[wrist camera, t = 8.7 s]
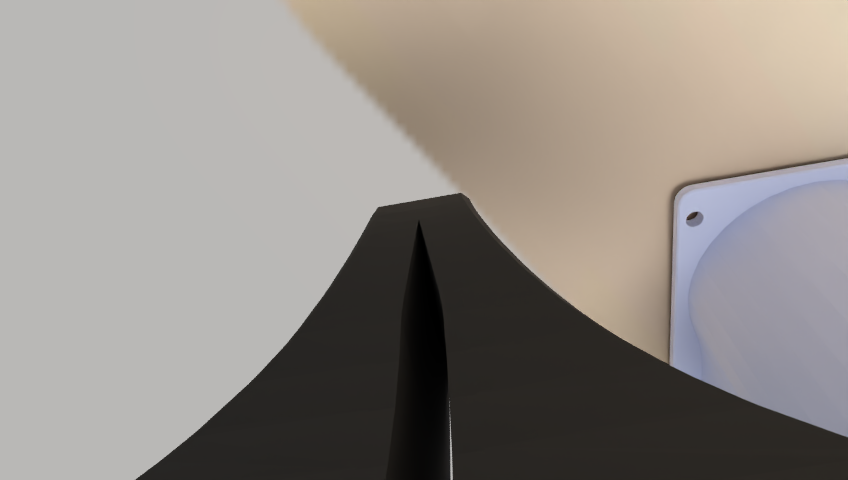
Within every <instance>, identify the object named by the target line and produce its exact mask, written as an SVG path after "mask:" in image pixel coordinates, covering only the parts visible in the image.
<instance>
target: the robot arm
mask: <svg viewBox="0 0 848 480" xmlns="http://www.w3.org/2000/svg"><path fill="white" fill-rule="evenodd" d="M693 212H698V214H697V216H696V217H695V218H694V219H691V220H686V218H687V216H688V215H689V214H690V213H693ZM449 398H450V407H449ZM450 418H451V439H452V461H453V462H452V463H453V480H848V158H845V159H839V160H834V161H828V162H822V163H816V164H810V165H804V166H798V167H792V168H787V169H781V170H775V171H769V172H763V173H757V174H751V175H745V176H740V177H734V178H728V179H722V180H716V181H710V182H704V183H698V184H693V185H689V186H686V187H684V188H683V189H681V190H680V191H679V192H678V194H677V195H676V197H675V201H674V224H673V260H672V296H671V332H670V365H668V364H666V363H665V362H663V361H661V360H659V359H657V358H655V357H654V356H652V355H650V354H648V353H646V352H644V351H643V350H641V349H639V348H637V347H635V346H633V345H632V344H630V343H628V342H626V341H624V340H622V339H621V338H619V337H618V336H616V335H614V334H613V333H611V332H610V331H608V330H607V329H605V328H603V327H602V326H600V325H599V324H598V323H596V322H595V321H593V320H592V319H590V318H589V317H587V316H586V315H585V314H583V313H582V312H580V311H579V310H578V309H576V308H575V307H574V306H572V305H571V304H570V303H568V302H567V301H566V300H564V299H563V298H562V297H561V296H559V295H558V294H557V293H556V292H554V291H553V290H552V289H551V288H550V287H549V286H547V285H546V284H545V283H544V282H543V281H542V280H540V279H539V278H538V277H537V276H536V275H535V274H534V273H533V272H531V271H530V270H529V269H528V268H527V267H526V266H525V265H524V264H523V263H522V262H521V261H520V260H519V259H518V258H517V257H516V256H515V255H514V254H513V253H512V252H511V251H510V250H509V249H508V248H507V247H506V246H505V245H504V244H503V243H502V242H501V241H500V239H499V238H498V237H497V236H496V235H495V234H494V233H493V232H492V230H491V229H490V228H489V227H488V225H487V224H486V223H485V222H484V221H483V219H482V218H481V217H480V215H479V214H478V213H477V211H476V210H475V208H474V207H473V205H472V203H471V201H470V199H469V198H467V197H466V196H465V195H463V194H462V193H458V194H452V195H446V196H440V197H435V198H429V199H423V200H417V201H412V202H406V203H400V204H394V205H388V206H383V207H378V209H377V210H376V211H375V213H374V214H373V215H372V217H371V219H370V221H369V223H368V224H367V226H366V228H365V230H364V232H363V233H362V235H361V237H360V239H359V240H358V242H357V244H356V246H355V247H354V249H353V251H352V253H351V254H350V256H349V257H348V259H347V261H346V262H345V264H344V266H343V267H342V268H341V270H340V272H339V273H338V275H337V276H336V278H335V279H334V281H333V283H332V284H331V286H330V287H329V289H328V290H327V291H326V293H325V295H324V296H323V297H322V299H321V300H320V301H319V303H318V304H317V306H315V308H314V309H313V311H312V312H311V313H310V315H309V316H308V317H307V319H306V320H305V321H304V323H303V324H302V325H301V327H300V328H299V329H298V331H297V332H296V333H295V334H294V336H293V337H292V338H291V339H290V340H289V342H288V343H287V344H286V345H285V346H284V347H283V349H282V350H281V351H280V352H279V353H278V354H277V355H276V356H275V357H274V358H273V359H272V360H271V361H270V362H269V364H268V365H267V366H266V367H265V368H264V369H263V370H262V371H261V372H260V373H259V374H258V375H257V376H256V377H255V378H254V379H253V380H252V381H251V382H250V383H249V384H248V385H247V386H246V387H245V388H244V389H243V390H242V391H241V392H239V393H238V394H237V395H236V396H235V397H234V398H233V399H232V400H231V401H230V402H228V403H227V404H226V405H225V406H224V407H223V408H222V409H221V410H220V411H219V412H218V413H216V414H215V415H214V416H213V417H212V418H211V419H210V420H209V421H208V422H207V423H206V424H204V425H203V426H202V427H201V428H200V429H199V430H198V431H197V432H195V433H194V434H193V435H192V436H191V437H189V438H188V439H187V440H186V441H185V442H183V443H182V444H181V445H180V446H178V447H177V448H176V449H175V450H173V451H172V452H171V453H170V454H169V455H167V456H166V457H165V458H164V459H162V460H161V461H160V462H158V463H157V464H156V465H154V466H153V467H152V468H150V469H149V470H148V471H146V472H145V473H144V474H142V475H141V476H140V477H138V478H137V479H136V480H450Z"/></svg>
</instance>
